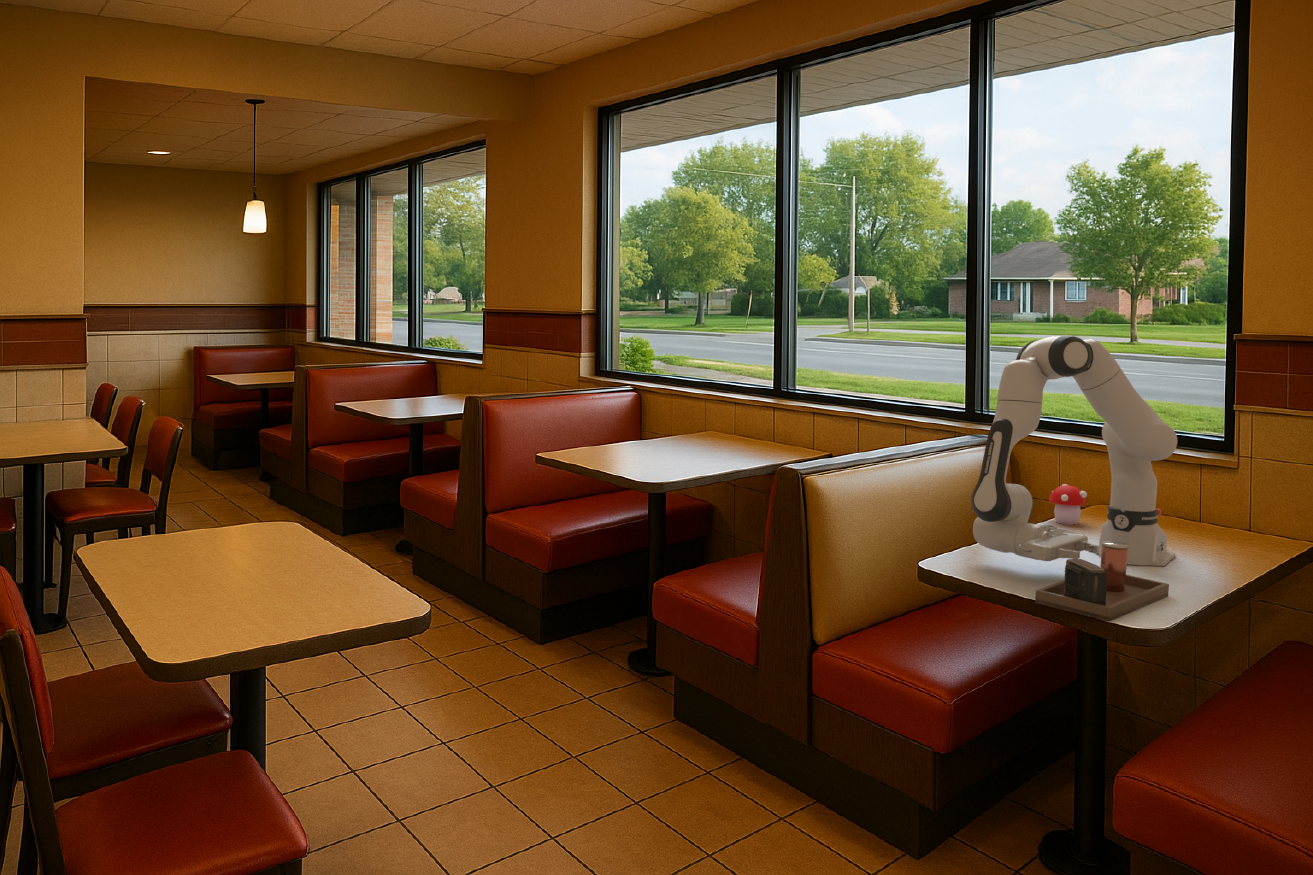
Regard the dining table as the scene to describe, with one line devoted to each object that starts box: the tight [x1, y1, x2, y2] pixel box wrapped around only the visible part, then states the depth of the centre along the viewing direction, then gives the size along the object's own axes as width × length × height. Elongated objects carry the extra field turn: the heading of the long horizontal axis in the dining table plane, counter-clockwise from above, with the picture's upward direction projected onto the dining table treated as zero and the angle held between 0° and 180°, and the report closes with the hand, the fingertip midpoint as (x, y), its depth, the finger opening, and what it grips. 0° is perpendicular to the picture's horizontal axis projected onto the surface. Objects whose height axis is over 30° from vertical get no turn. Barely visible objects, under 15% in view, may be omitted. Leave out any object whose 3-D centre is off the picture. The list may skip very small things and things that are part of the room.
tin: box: [1099, 541, 1129, 592], centre depth 231 cm, size 6×6×11 cm
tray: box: [1034, 574, 1170, 623], centre depth 226 cm, size 30×17×3 cm, turn 130°
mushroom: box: [1048, 483, 1088, 526], centre depth 306 cm, size 11×11×12 cm
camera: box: [1063, 558, 1107, 606], centre depth 220 cm, size 11×6×10 cm, turn 5°
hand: (1088, 552), depth 235 cm, fingers open, 8 cm apart
